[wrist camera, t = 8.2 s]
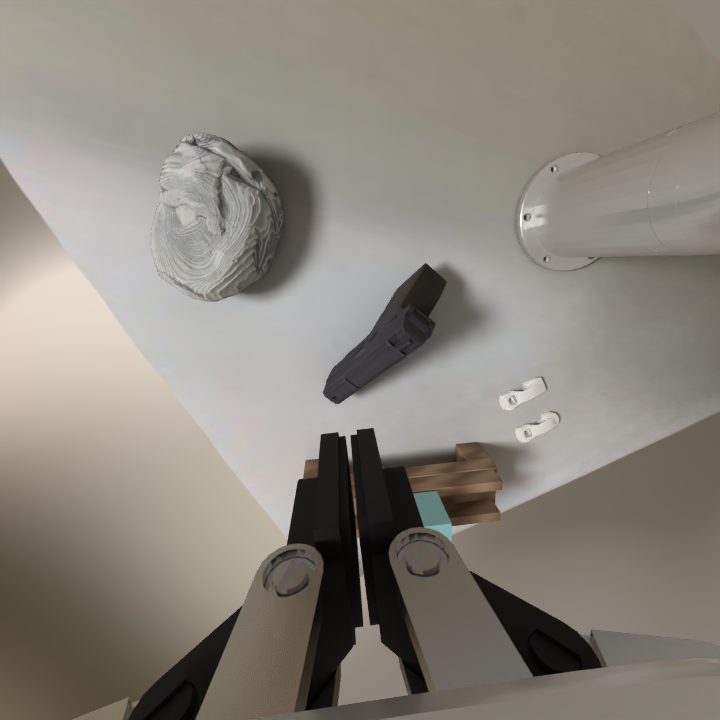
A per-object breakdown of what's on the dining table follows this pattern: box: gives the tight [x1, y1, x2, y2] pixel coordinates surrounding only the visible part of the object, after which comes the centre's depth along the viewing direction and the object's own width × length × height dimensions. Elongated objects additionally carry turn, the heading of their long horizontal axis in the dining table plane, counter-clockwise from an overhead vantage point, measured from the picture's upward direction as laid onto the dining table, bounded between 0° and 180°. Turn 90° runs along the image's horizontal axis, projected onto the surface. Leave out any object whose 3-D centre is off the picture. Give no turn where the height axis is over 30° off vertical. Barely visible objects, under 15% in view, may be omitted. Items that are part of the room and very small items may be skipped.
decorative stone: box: [151, 133, 284, 301], centre depth 33 cm, size 15×14×10 cm
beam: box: [303, 442, 502, 538], centre depth 44 cm, size 24×6×8 cm, turn 94°
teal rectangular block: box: [413, 491, 452, 541], centre depth 38 cm, size 4×6×8 cm
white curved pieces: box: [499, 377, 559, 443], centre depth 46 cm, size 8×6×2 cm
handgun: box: [323, 263, 447, 404], centre depth 39 cm, size 4×16×12 cm
